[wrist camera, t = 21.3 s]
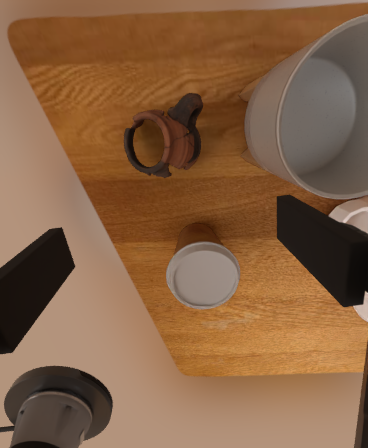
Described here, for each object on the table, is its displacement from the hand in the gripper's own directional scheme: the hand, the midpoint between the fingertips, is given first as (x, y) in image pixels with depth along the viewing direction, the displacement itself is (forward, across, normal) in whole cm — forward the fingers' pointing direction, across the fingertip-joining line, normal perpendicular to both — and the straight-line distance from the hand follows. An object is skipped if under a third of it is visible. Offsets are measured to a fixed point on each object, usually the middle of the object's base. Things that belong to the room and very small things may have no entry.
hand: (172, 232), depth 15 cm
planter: (+24, +16, +5) cm, 29 cm away
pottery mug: (+24, 0, +5) cm, 25 cm away
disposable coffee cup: (+24, +2, -12) cm, 27 cm away
